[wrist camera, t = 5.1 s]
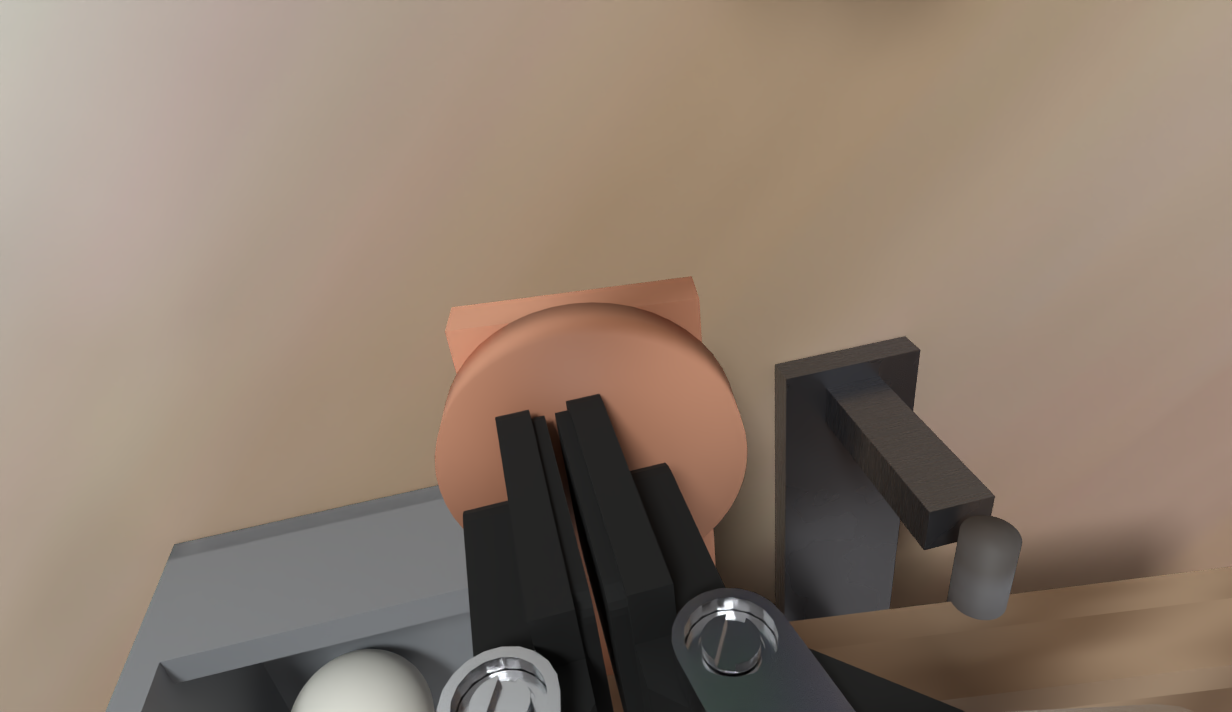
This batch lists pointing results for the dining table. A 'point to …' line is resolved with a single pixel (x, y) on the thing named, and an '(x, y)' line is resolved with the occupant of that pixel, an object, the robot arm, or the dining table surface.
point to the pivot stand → (858, 479)
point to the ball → (366, 685)
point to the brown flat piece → (714, 471)
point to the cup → (301, 607)
